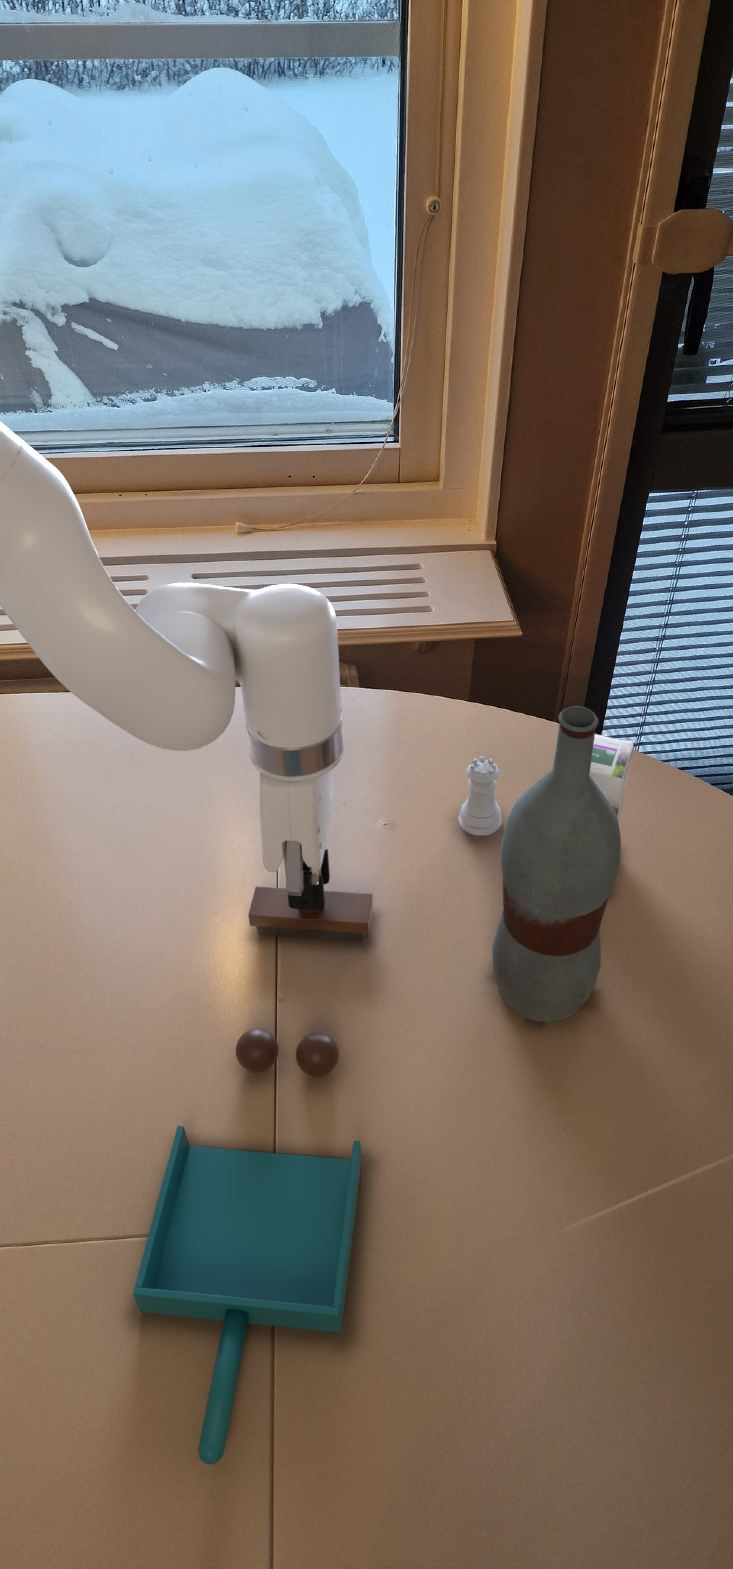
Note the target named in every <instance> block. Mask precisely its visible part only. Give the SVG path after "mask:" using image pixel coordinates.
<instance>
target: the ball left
mask: <svg viewBox="0 0 733 1569" xmlns="http://www.w3.org/2000/svg"><path fill="white" fill-rule="evenodd" d="M235 1056H236V1059H237V1062H238V1063H239V1064H240V1066H241V1067H242V1068H243V1069H245V1070H247V1071H249V1072H252V1073H261V1072H264V1071H267V1070H269V1069H270V1068H271V1067H272V1066H273V1065H274V1064H275V1062H276V1061H277V1058H278V1056H279V1043H278V1040H277V1039H276V1037H275V1036H274V1034H273V1033H272V1032H270V1031H269V1030H267V1029H264V1028H261V1027H260V1028H259V1027H257V1028H251V1029H248V1030H247V1031H244V1032H243V1033H242V1034H241V1036H240V1037H239V1038H238V1040H237V1042H236V1045H235Z"/></svg>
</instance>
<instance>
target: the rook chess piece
mask: <svg viewBox="0 0 733 1569" xmlns="http://www.w3.org/2000/svg"><path fill="white" fill-rule="evenodd" d="M485 757H486V756H483V755H482V756H479V759H477V757H474V758H473V759H472V760H471V763H469V765H468V766H467V768H466V770H465V771H466V772H465V773H466V776H467V777H468V781H467V786H468V788H469V791H468V794H467V798H466V799H465V801H464V802H463V803H462V805H461V807H460V809H459V810H458V811H459V812H458V813H459V815H458V818H457V819H458V825H459V827H461V829H462V830H463V831H464V832H466V833H468V834H469V835H472V836H476V837H486V836H489V835H492V834H493V833H494V834H495V832H496V831H498V830H499V829H500V827H501V825H502V823H503V821H502V820H503V819H502V817H503V816H502V810H501V807H500V806H499V804H498V802H497V800H496V798H495V789H496V787H497V781H496V780H497V779H498V778H499V776H500V769H499V768H498V767H497V763H496V762H494V759H493V758H491V757H488V758H487V759H486V758H485Z"/></svg>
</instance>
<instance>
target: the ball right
mask: <svg viewBox="0 0 733 1569" xmlns="http://www.w3.org/2000/svg"><path fill="white" fill-rule="evenodd" d="M339 1055H340V1054H339V1048H338V1045H337V1043H336V1041H335V1040H334V1039H333V1038H332V1037H331V1036H329V1035H328V1034H326V1033H323V1032H313V1033H309V1034H307V1035H305V1036H304V1037H302V1039H301V1040H300V1041H299V1042H298V1044H297V1047H296V1050H295V1059H296V1064H297V1066H298V1067H299V1069H300V1070H301V1071H302V1072H303V1073H304V1074H306V1075H307V1076H309V1077H314V1078H321V1077H324V1076H327V1075H328V1074H330V1073H331V1072H332V1071H333V1070H334V1069H335V1068H336V1066H337V1064H338V1062H339Z"/></svg>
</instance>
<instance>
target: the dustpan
mask: <svg viewBox="0 0 733 1569" xmlns="http://www.w3.org/2000/svg"><path fill="white" fill-rule="evenodd" d="M362 1162H363V1160H362V1147H361V1140H353V1143H352V1150H351V1159H344V1158H333V1157H332V1158H331V1157H320V1156H310V1155H299V1154H287V1153H274V1152H263V1151H253V1150H252V1151H251V1150H240V1149H230V1148H218V1147H205V1146H194V1145H190V1142H189V1139H188V1135H187V1133H186V1129H185V1126H184V1125H177V1127H176V1130H175V1135H174V1138H173V1142H172V1146H171V1149H170V1154H169V1157H168V1161H167V1164H166V1167H165V1168H166V1169H165V1172H164V1175H163V1180H162V1183H161V1188H160V1190H159V1194H158V1199H157V1202H156V1206H155V1210H154V1213H153V1217H152V1221H151V1224H150V1227H149V1232H148V1236H147V1239H146V1244H145V1248H144V1251H143V1255H142V1257H141V1262H140V1266H139V1270H138V1273H137V1277H136V1280H135V1283H134V1289H133V1292H132V1295H133V1298H134V1300H135V1302H136V1305H137V1307H138V1310H139V1311H140V1313H144V1314H145V1313H146V1314H154V1315H155V1314H156V1315H165V1316H176V1317H185V1318H195V1319H204V1320H213V1321H221V1322H223V1323H222V1328H221V1333H220V1337H219V1343H218V1348H217V1354H216V1356H215V1357H216V1359H215V1363H214V1368H213V1373H212V1376H211V1377H212V1378H211V1384H210V1388H209V1393H208V1398H207V1404H206V1408H205V1413H204V1419H203V1423H202V1428H201V1433H200V1438H199V1443H198V1450H197V1453H198V1456H199V1459H200V1460H201V1461H202V1463H204V1464H206V1465H210V1466H211V1465H215V1464H217V1463H218V1462H220V1461H221V1459H222V1458H223V1456H224V1453H225V1449H226V1444H227V1437H228V1433H229V1427H230V1422H231V1417H232V1411H233V1406H234V1400H235V1394H236V1389H237V1383H238V1378H239V1373H240V1367H241V1361H242V1356H243V1351H244V1347H245V1346H244V1345H245V1340H246V1335H247V1329H248V1324H250V1325H251V1324H252V1325H261V1326H270V1327H281V1328H290V1329H301V1330H308V1331H309V1330H310V1331H320V1332H329V1333H338V1334H341V1333H342V1328H343V1322H344V1314H345V1306H346V1297H347V1288H348V1280H349V1273H350V1272H349V1271H350V1262H351V1256H352V1255H351V1254H352V1247H353V1246H352V1245H353V1238H354V1230H355V1221H356V1213H357V1206H358V1198H359V1197H358V1196H359V1188H360V1179H361V1172H362Z"/></svg>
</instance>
